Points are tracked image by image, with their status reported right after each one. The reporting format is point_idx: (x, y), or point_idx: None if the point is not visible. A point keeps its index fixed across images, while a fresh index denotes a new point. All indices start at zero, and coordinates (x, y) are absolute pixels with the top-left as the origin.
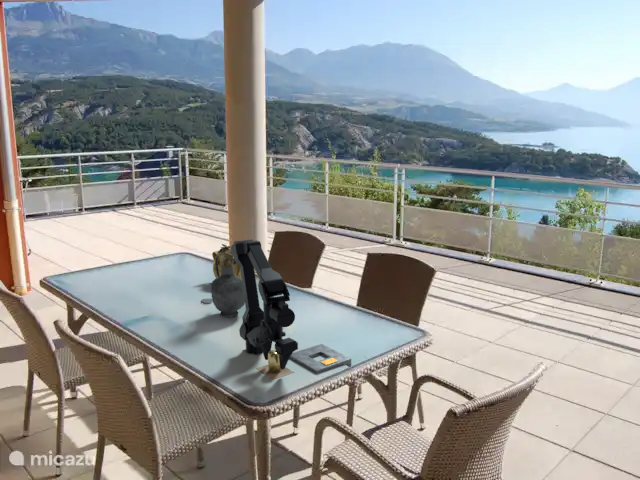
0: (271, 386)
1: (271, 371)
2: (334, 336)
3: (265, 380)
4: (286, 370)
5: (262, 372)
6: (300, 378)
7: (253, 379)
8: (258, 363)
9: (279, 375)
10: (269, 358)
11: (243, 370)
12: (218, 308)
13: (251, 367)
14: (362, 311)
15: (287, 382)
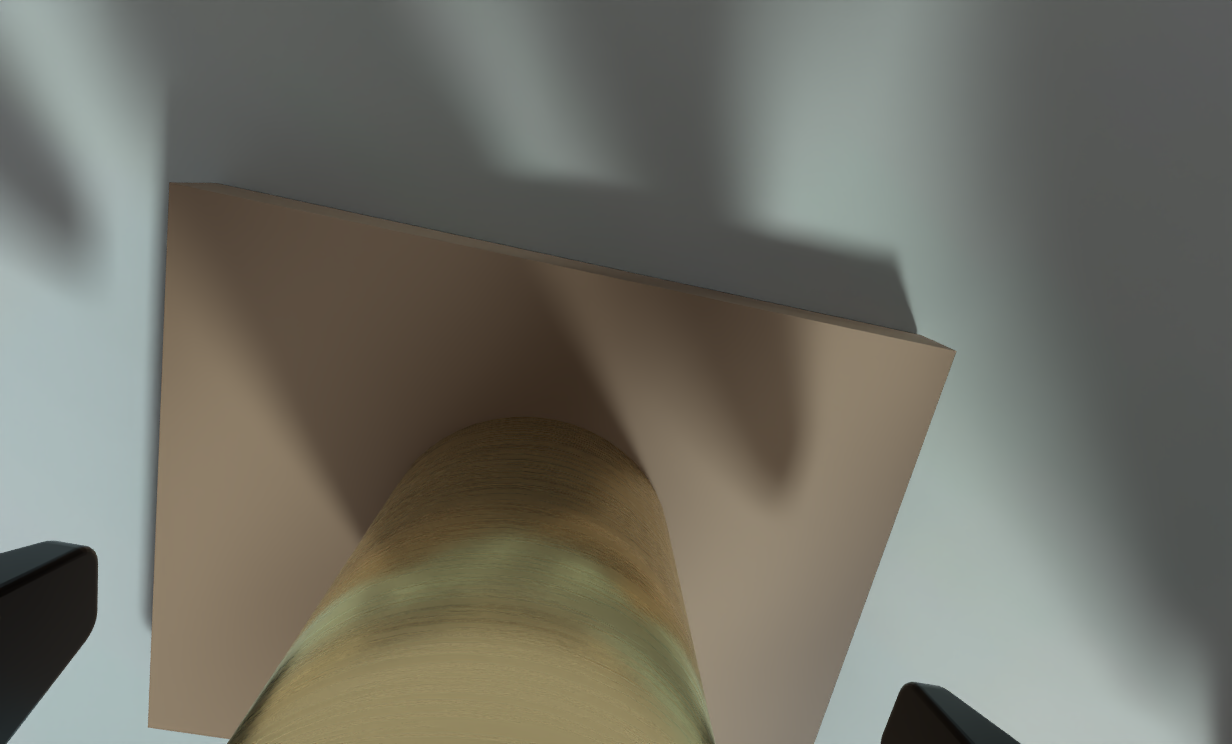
0: (76, 26)
1: (478, 434)
2: None
3: (432, 161)
4: None
5: (676, 306)
6: None
7: (687, 8)
8: (1111, 605)
9: (244, 446)
10: (466, 657)
11: (1195, 194)
12: None
13: (1126, 406)
14: None
15: (16, 401)
